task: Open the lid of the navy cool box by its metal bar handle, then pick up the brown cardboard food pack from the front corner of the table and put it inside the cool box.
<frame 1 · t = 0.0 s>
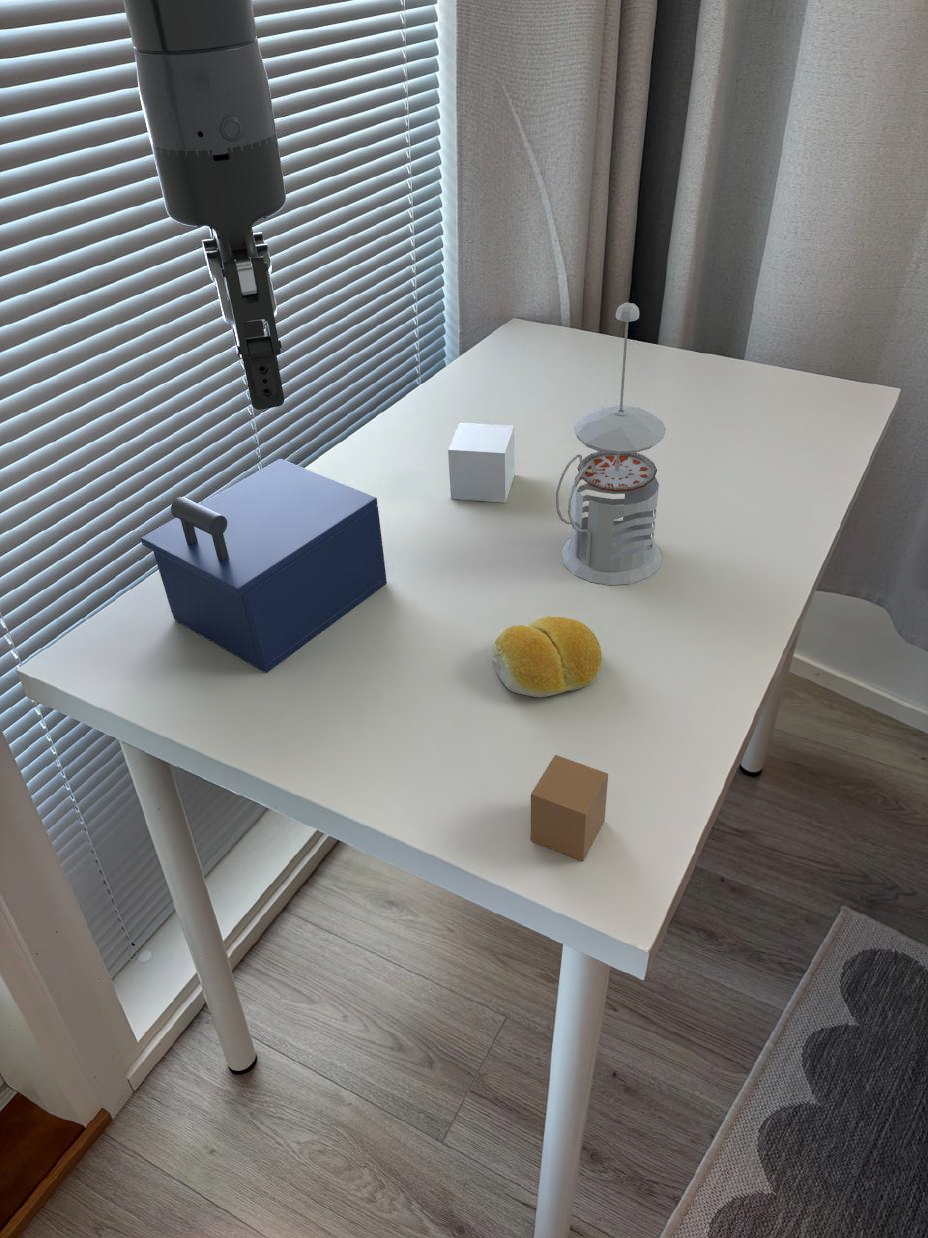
hand: (260, 380, 68), 26 cm above the table, tool pointing down, fingers open, 8 cm apart
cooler: (282, 601, 89), on the table
bread roll: (545, 670, 81), on the table
food pack: (567, 830, 67), on the table
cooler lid: (257, 500, 82), point 11 cm above the table, hinge at 0.0°
white cube: (483, 487, 104), on the table
french press: (604, 560, 93), on the table
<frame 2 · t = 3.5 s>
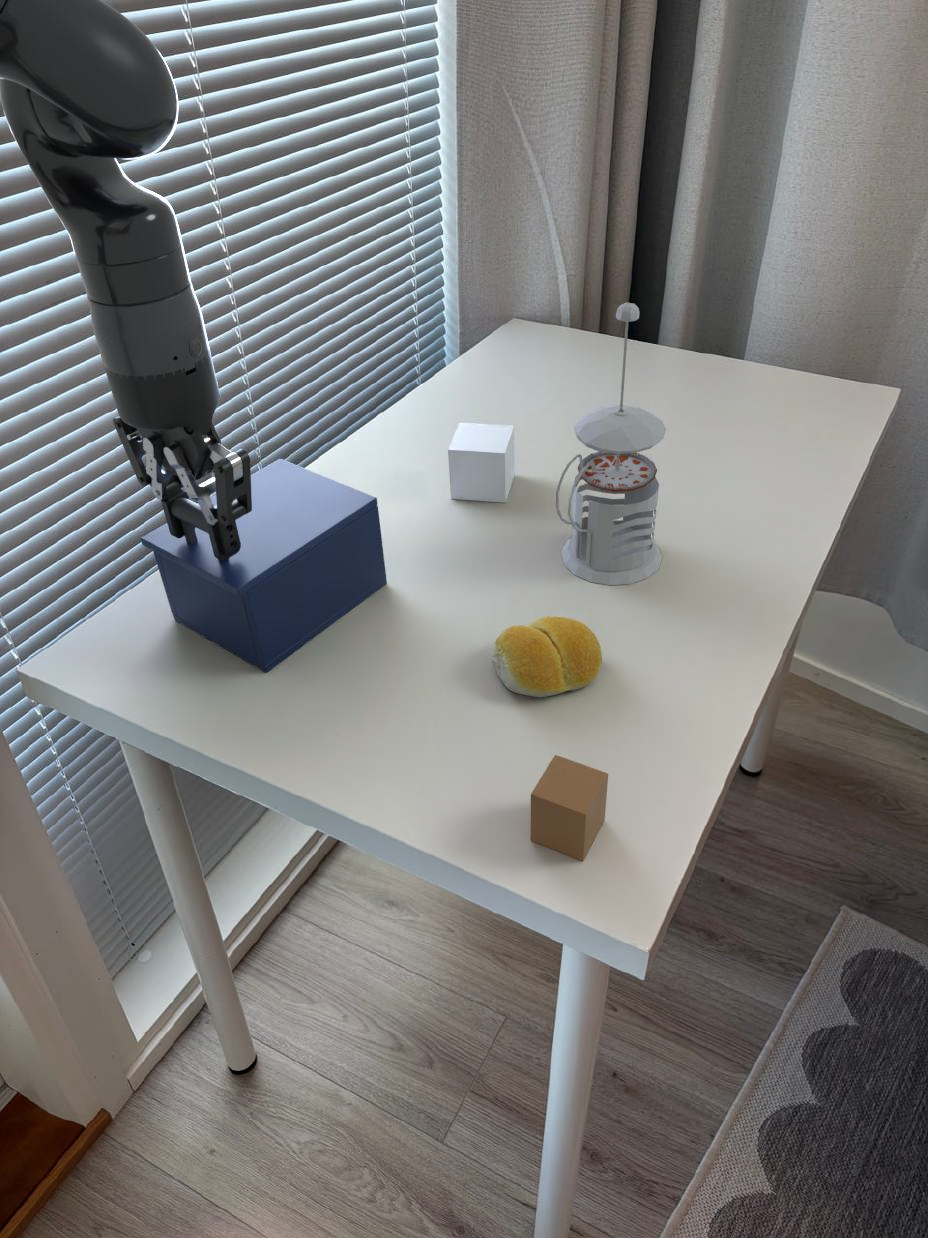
hand: (206, 543, 79), 10 cm above the table, tool pointing down, fingers closed on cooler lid, 5 cm apart
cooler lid: (257, 500, 82), point 11 cm above the table, hinge at 0.0°, touching gripper
everything else where it was.
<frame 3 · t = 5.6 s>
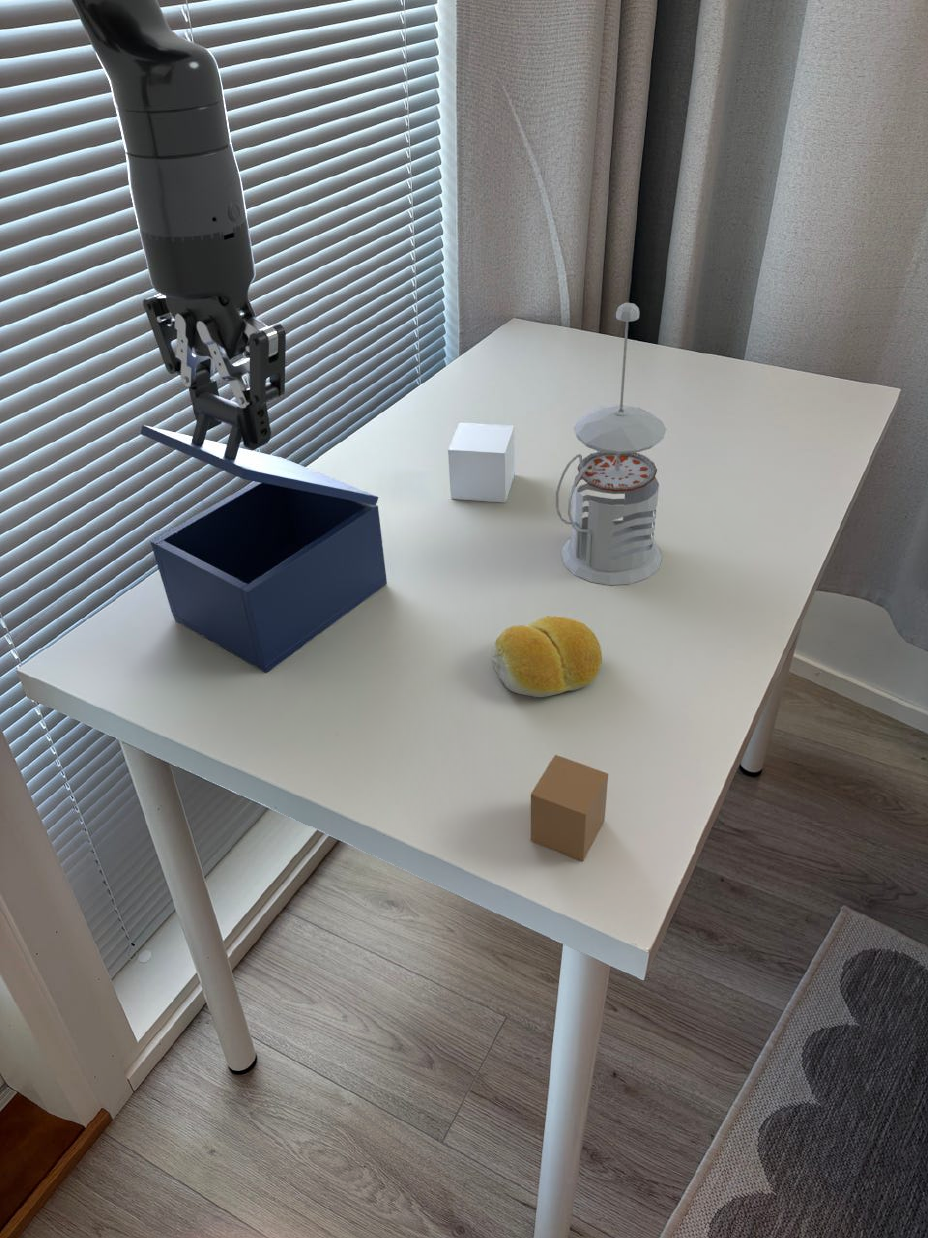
hand: (234, 434, 77), 18 cm above the table, tool pointing down, fingers closed on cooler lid, 5 cm apart
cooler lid: (271, 443, 81), point 16 cm above the table, hinge at 35.0°, touching gripper
everything else where it was.
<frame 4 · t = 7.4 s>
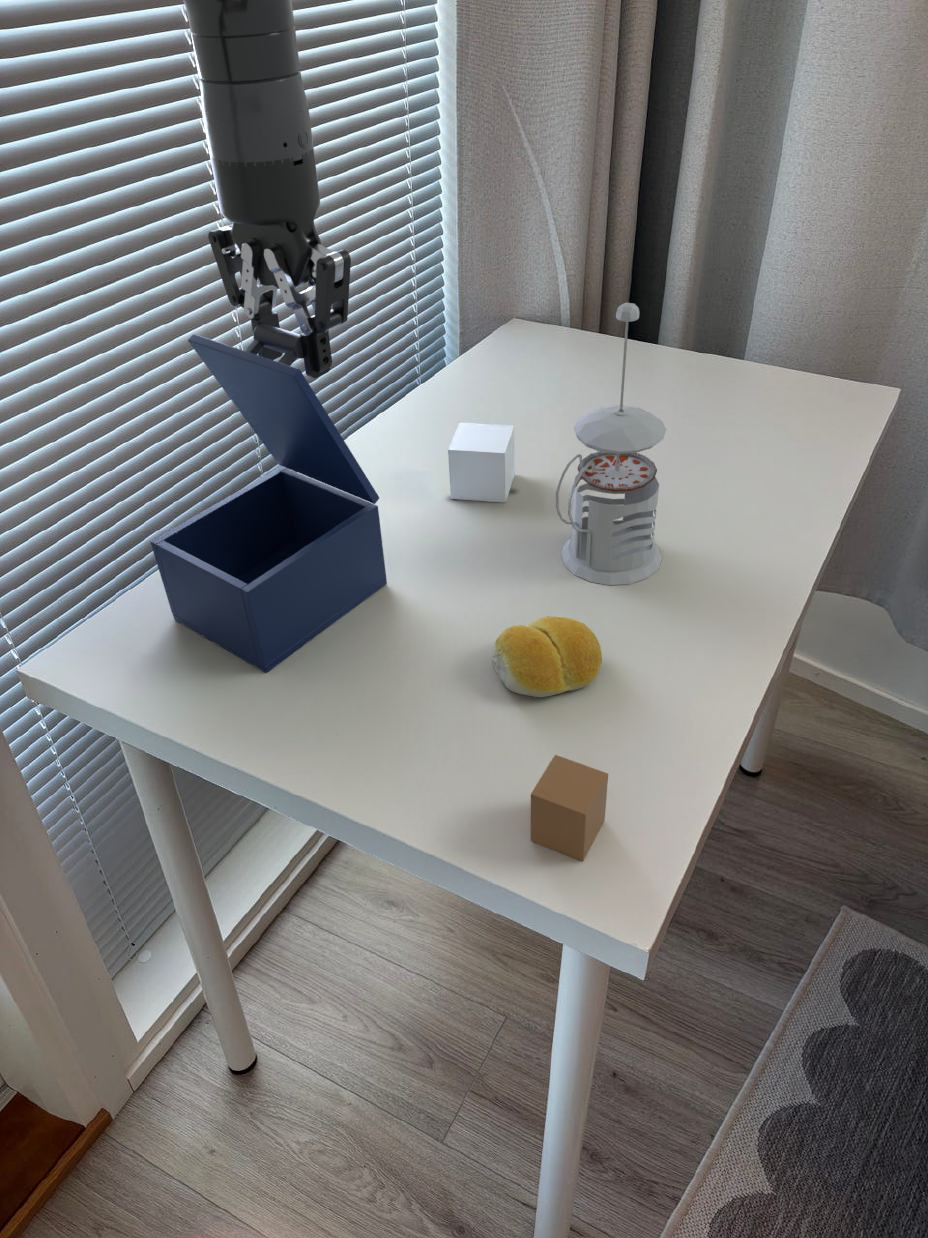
hand: (295, 365, 80), 21 cm above the table, tool pointing down, fingers closed on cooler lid, 5 cm apart
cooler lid: (302, 404, 82), point 18 cm above the table, hinge at 65.4°, touching gripper
everything else where it was.
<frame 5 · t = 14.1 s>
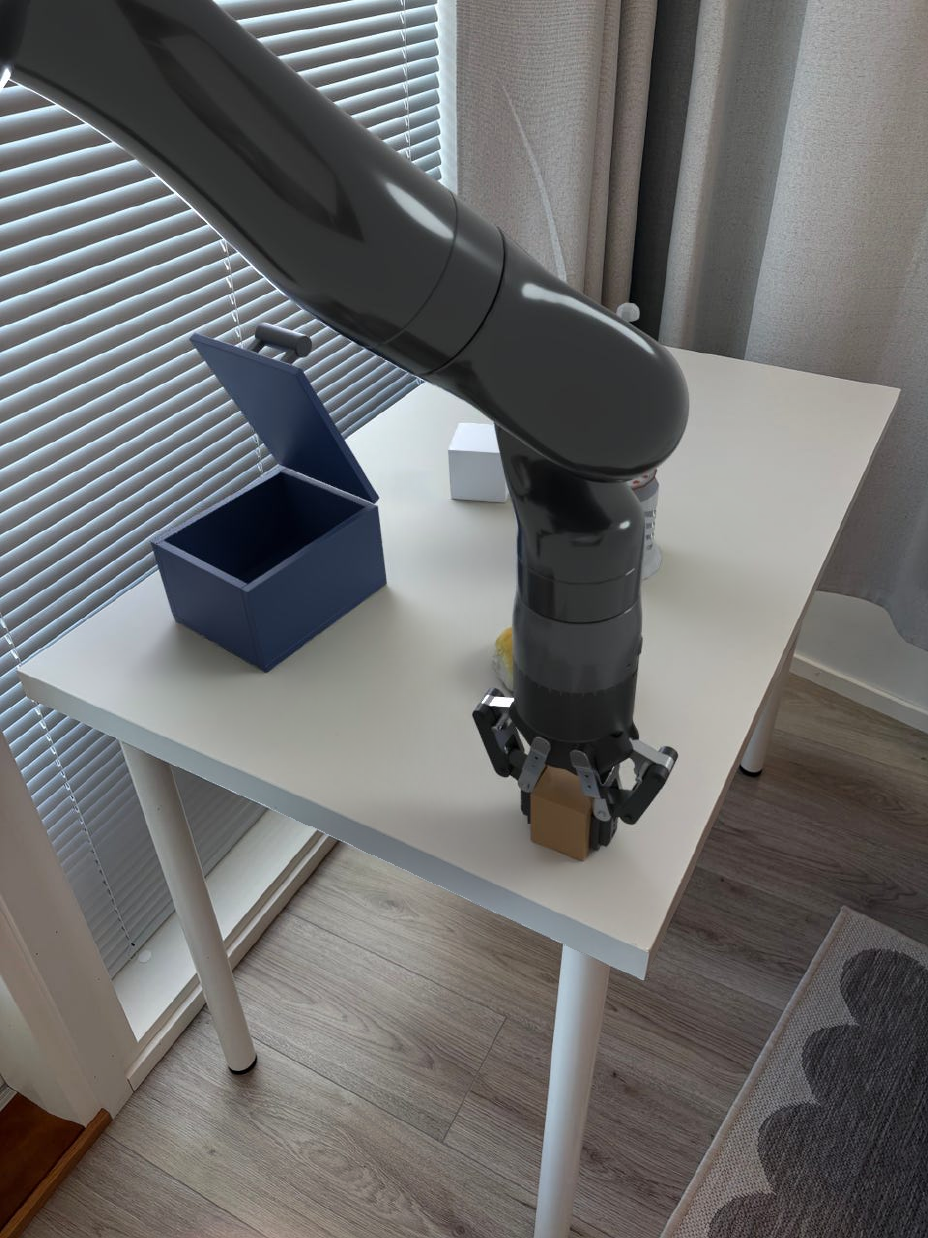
hand: (568, 828, 67), 0 cm above the table, tool pointing down, fingers closed on food pack, 4 cm apart
food pack: (567, 830, 67), on the table, touching gripper
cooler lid: (303, 404, 82), point 18 cm above the table, hinge at 66.0°
everything else where it was.
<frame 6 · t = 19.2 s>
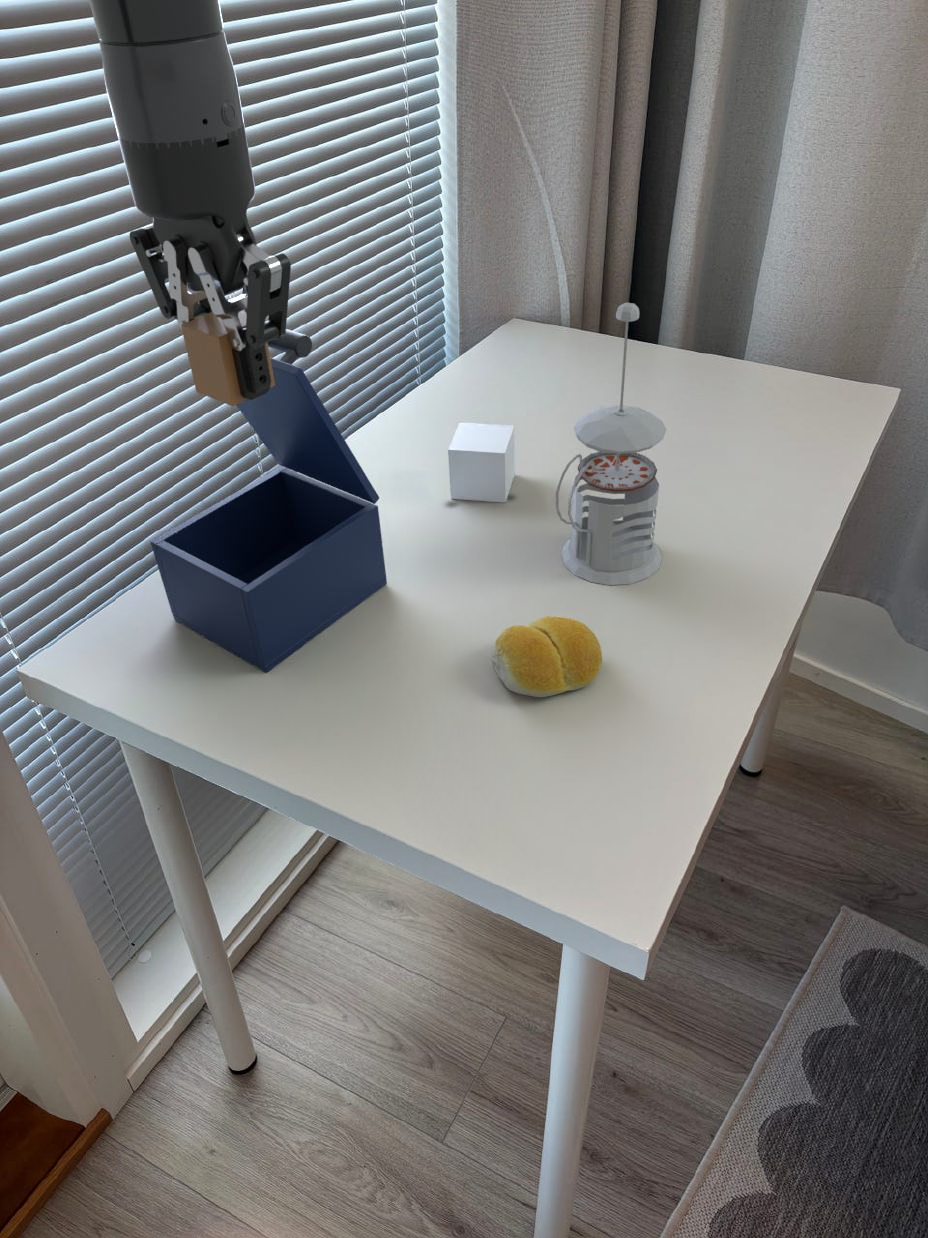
hand: (234, 385, 68), 25 cm above the table, tool pointing down, fingers closed on food pack, 4 cm apart
food pack: (236, 388, 68), point 25 cm above the table, touching gripper
everything else where it was.
when the fingers open (8 cm above the table, at t = 24.1 s): food pack drops 7 cm, resting on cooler.
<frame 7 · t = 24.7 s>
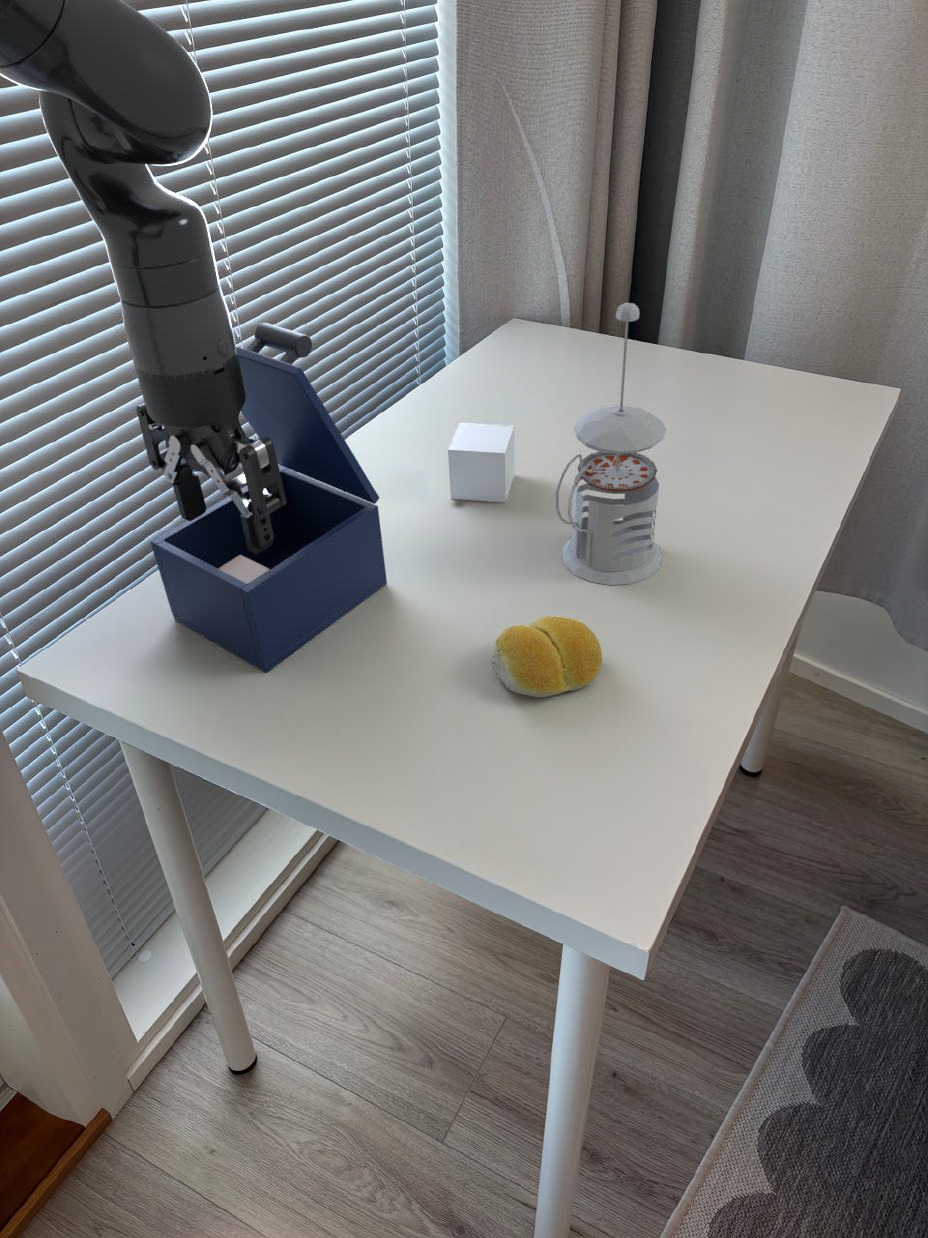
hand: (227, 531, 81), 10 cm above the table, tool pointing down, fingers open, 8 cm apart
food pack: (248, 616, 86), point 1 cm above the table, touching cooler
everything else where it was.
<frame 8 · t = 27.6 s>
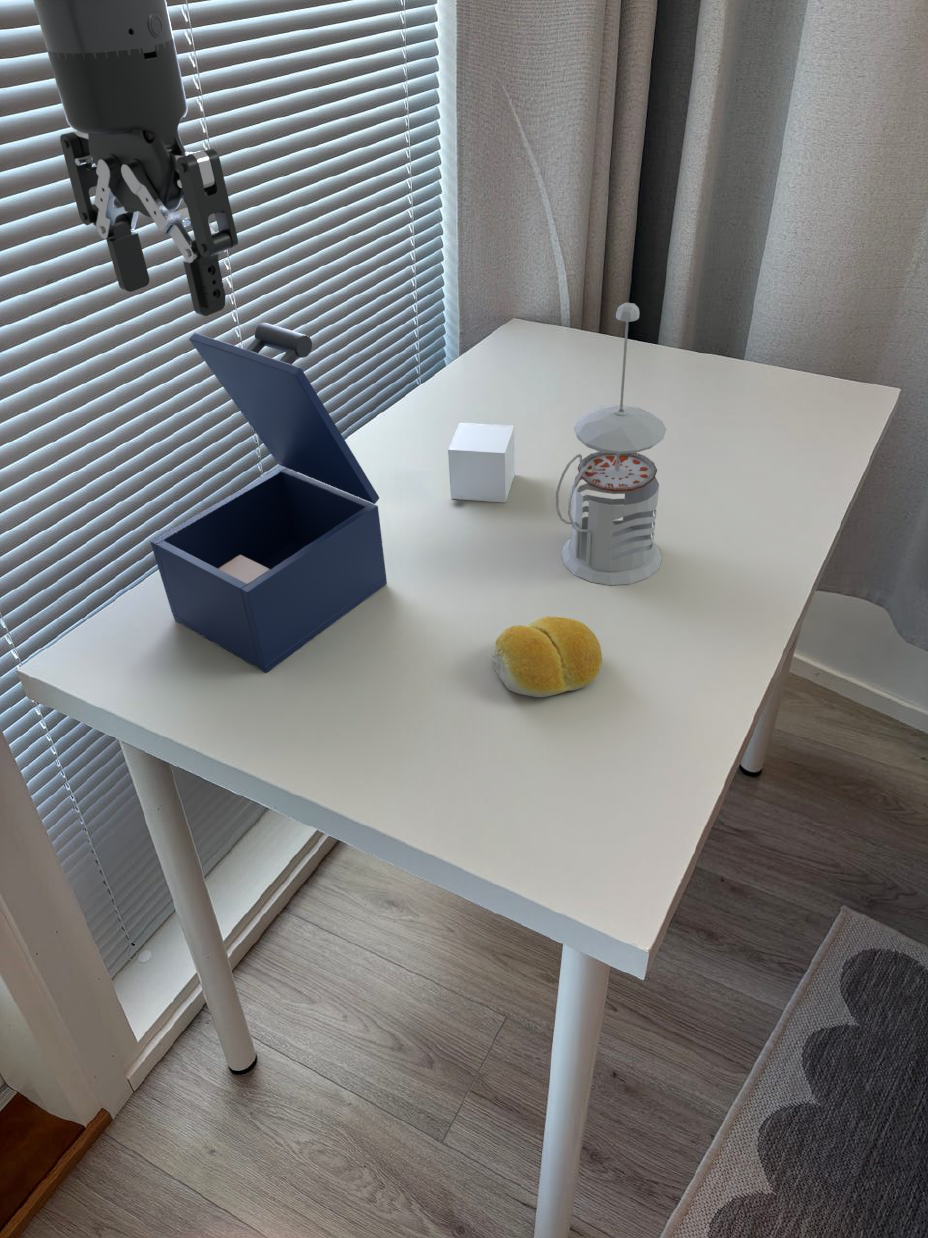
hand: (172, 299, 68), 30 cm above the table, tool pointing down, fingers open, 8 cm apart
nothing on the table moved.
at the end: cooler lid at +66° (first picture: +0°); food pack inside the target area in the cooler (4.0 cm from its centre), point 0.8 cm above the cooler's base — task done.
